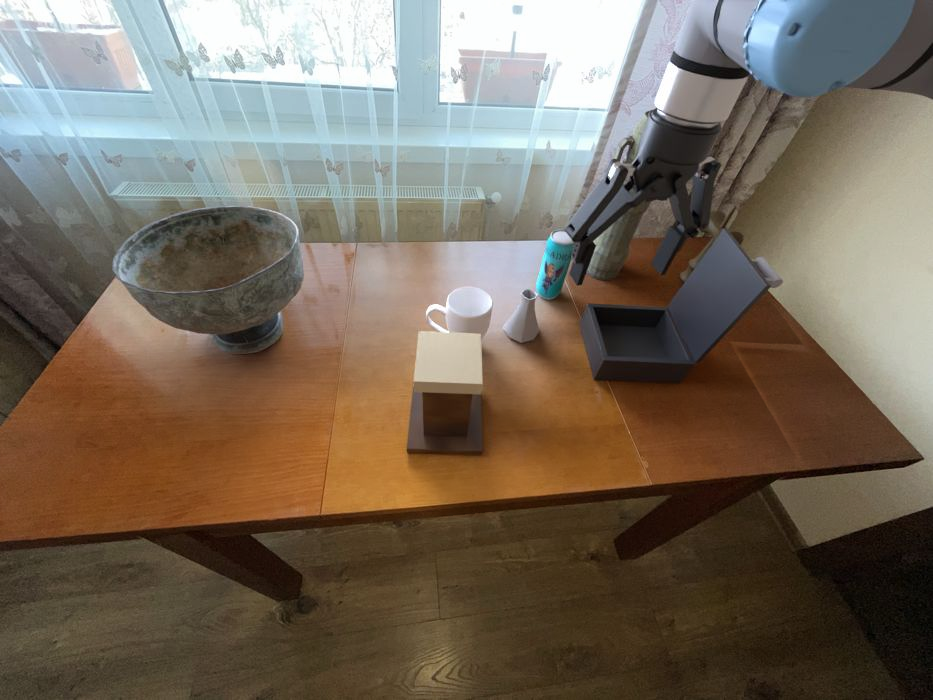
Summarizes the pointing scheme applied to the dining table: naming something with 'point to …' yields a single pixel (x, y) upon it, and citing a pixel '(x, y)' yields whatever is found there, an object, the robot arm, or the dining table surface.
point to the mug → (465, 311)
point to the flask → (523, 318)
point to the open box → (634, 344)
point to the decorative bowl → (216, 273)
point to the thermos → (619, 220)
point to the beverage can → (554, 264)
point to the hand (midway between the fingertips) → (617, 274)
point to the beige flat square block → (448, 363)
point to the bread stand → (445, 424)
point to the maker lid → (719, 293)
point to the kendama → (714, 229)
